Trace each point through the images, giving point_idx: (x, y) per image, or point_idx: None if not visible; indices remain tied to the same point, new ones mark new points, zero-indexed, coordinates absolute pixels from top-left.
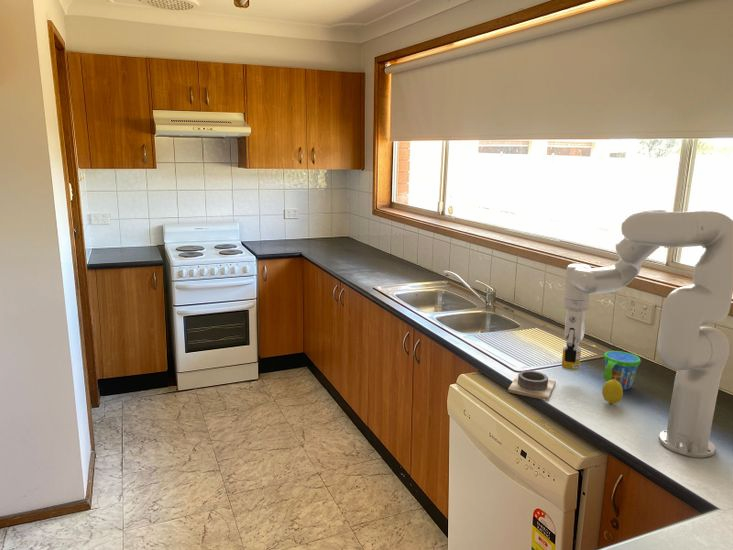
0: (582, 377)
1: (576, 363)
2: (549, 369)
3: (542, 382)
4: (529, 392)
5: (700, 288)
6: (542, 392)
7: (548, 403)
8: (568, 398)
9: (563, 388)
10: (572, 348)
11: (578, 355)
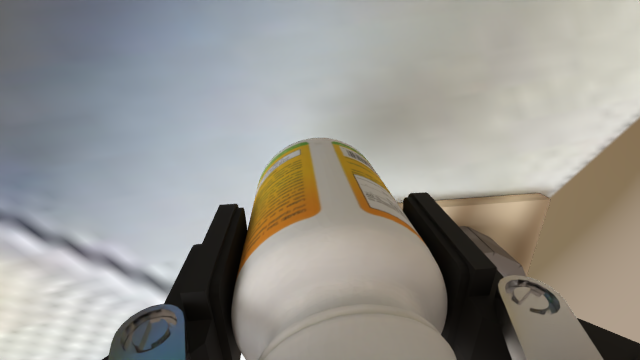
0: (162, 108)
1: (378, 176)
2: (176, 269)
3: (514, 260)
4: (522, 266)
5: None
6: (505, 229)
7: (564, 184)
8: (489, 123)
9: (380, 166)
10: (595, 332)
11: (390, 203)
